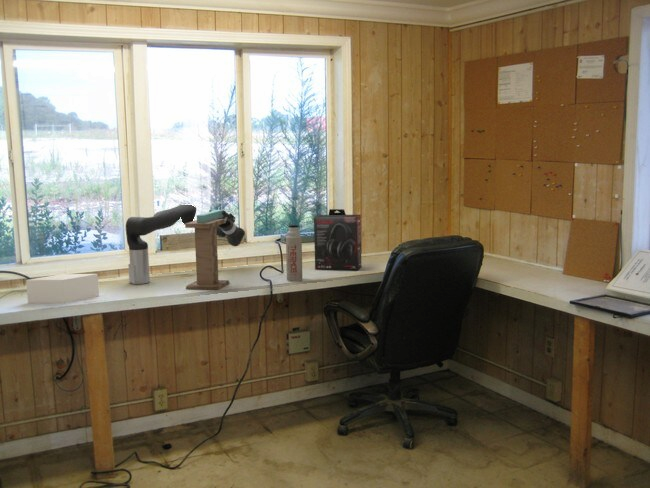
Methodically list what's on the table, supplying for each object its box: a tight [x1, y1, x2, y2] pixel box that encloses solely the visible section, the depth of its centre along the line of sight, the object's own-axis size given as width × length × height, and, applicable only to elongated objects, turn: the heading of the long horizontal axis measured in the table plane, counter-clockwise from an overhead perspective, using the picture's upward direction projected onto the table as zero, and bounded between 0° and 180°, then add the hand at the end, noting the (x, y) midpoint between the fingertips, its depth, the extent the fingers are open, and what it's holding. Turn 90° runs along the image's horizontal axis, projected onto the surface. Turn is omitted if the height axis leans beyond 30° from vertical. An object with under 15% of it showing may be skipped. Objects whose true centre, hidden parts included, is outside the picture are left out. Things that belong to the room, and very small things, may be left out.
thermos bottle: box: [285, 224, 303, 282], centre depth 331 cm, size 8×8×28 cm
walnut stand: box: [184, 219, 230, 291], centre depth 319 cm, size 20×16×32 cm
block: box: [25, 273, 100, 304], centre depth 296 cm, size 15×30×11 cm, turn 114°
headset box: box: [313, 208, 362, 271], centre depth 361 cm, size 24×13×33 cm, turn 77°
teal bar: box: [196, 209, 223, 223], centre depth 323 cm, size 26×4×4 cm, turn 168°
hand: (216, 211), depth 330 cm, fingers open, 6 cm apart
